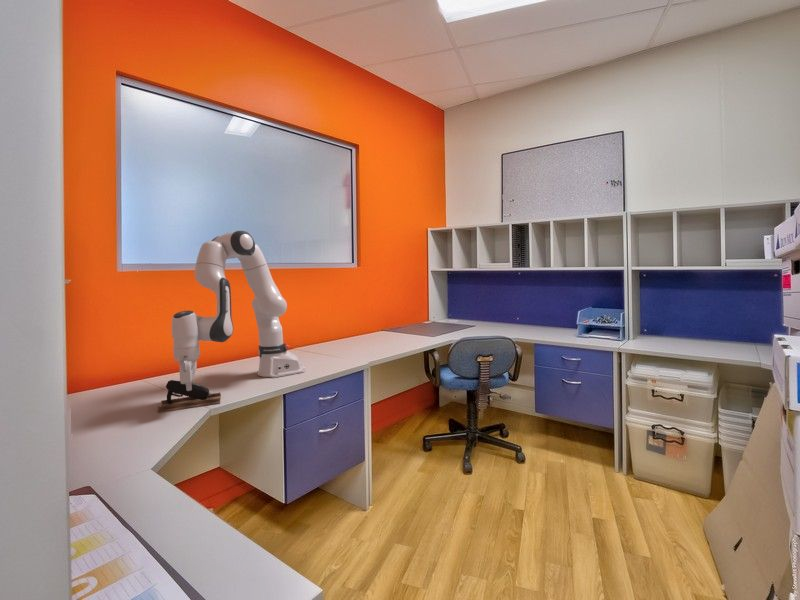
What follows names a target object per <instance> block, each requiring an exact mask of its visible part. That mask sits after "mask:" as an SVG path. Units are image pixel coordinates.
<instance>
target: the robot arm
mask: <svg viewBox="0 0 800 600" xmlns="http://www.w3.org/2000/svg"><path fill="white" fill-rule="evenodd" d="M236 258H237V259H238V261H240V265H241V268H242V271H243V274H244V276H245V280H246V282H247V284H248V286H249V288H250V289H251V291H252V293H253V294H254V297H253V299H252V301H251V307H252V309H253V312H254V317H255V321H256V324H257V329H258V330H257V331H258V356H259V364H258V371H257V375H258V376H259V377H262V378H263V377H264V378H268V377H269V378H280V377H285V376H292V375H296V374H302V373H304V372H306V367H305V365H303V364H302V363H301V361H300V357H298V355H296V354H294V353H293V352H291V351H290V350H289V349H290V345H289V344H286V343H285V342H284V338H283V337H284V335H283V327H282V324H281V322H280V319H279V317H282V316H283V315H284V314H285V313H286V312H287V308H288V303H287V301H286V299H285V298H284V296H283V295H282V294H281V292H280V290H279V288H278V286H277V285H276V283H275V281H274V279H273V277H272V274H271V271H270V269H269V265H268V263H267V260H266V258H265V255H264V253H263V251H262V249H261V248H260V246H259V245H258V244H257V243H256V242H255V240H254V238H253V236H252V235H251V234H250V233H249V232H248V231H245V230H235V231H231V232H226V233H224V234H221V235H219V236H216V237H214V238H213V239H211V240H208V241H205V242H204V243H201V246H200V248H199V252H198V255H197V258H196V261H195V267H194V278H195V280H196V281H197V283H198V284H200V286H202V287H204V288H206V289H208V290H210V291H212V292H213V293H214V294H215V297H216V315H215V316H201V315H198V314H196V313H195V311H194V310H182V311H178V312H176V313H174V314H173V315H172V318H171V325H170V326H171V327H170V328H171V338H172V339H173V345H172V353H173V360H174V361H178V362H177V363H178V364H179V367H178V368H179V381H180V382H181V384H185V385H186V390H187V391H191V390H192V383H194V378H195V374H196V371H197V366H198V363H197V362H198V359H199V358H200V357H201V352H200V351H201V350H200V343H199V342H200V341H201V342H215V343H225V342H227V341H228V340H229V339H230V338H231V337H232V335H233V333H234V323H233V317H232V291H231V290H232V289H231V284H230V282H229V280H228V279H227V278H226V273H225V270H226V264H227V260H231V259H236Z"/></svg>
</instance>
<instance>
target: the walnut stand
mask: <svg viewBox="0 0 800 600" xmlns="http://www.w3.org/2000/svg"><path fill="white" fill-rule="evenodd" d="M221 398H222V395H221V392H214V393H212V395H211V396H208V397H207V399H205V400H200V399H196V398H192V397H188V396H185V397H178V398H171V401H172V404H168V402H167V399H164V400H161V401H160V405H159V406H157V413H158V414H159V413H166V412H172V411H173V412H174V411H180V410H186V409H192V408H193V409H194V408H198V407H199V408H201V407H208V406H214V405H220V404H221V400H222V399H221Z"/></svg>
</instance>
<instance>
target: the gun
mask: <svg viewBox="0 0 800 600" xmlns="http://www.w3.org/2000/svg"><path fill="white" fill-rule="evenodd" d="M165 388H166V389H167V394H166V400H167V402H168V404H172V401H171V399H172V396H174V397H178V398H183V396H185V397H192V398H196V399H200V400H205V399H207V397H208V396H211V395H212V394H213V393H212V392H210V389H208V388H207V387H206V386H203V385H201V384H198V383H194V382H193V383H192V390H191V391H187V390H186V385H185V384H181V382H180V380H174V379H171V380H168V381H167V383H166V385H165Z"/></svg>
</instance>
